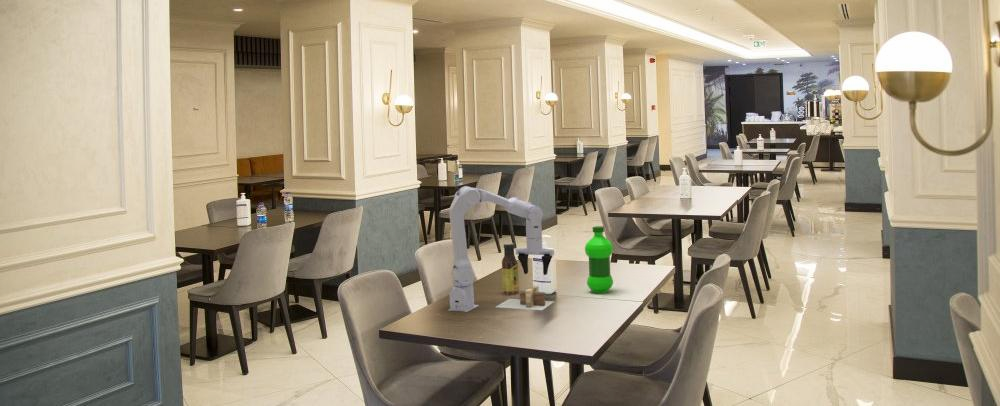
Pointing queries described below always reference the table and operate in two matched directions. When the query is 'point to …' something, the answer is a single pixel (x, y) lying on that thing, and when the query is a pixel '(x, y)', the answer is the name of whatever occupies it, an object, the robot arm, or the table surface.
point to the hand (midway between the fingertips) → (535, 273)
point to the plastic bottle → (599, 261)
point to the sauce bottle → (510, 271)
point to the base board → (516, 305)
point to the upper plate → (531, 295)
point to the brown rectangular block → (537, 298)
